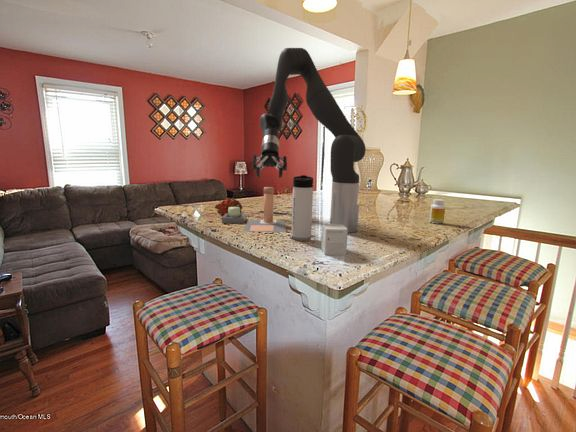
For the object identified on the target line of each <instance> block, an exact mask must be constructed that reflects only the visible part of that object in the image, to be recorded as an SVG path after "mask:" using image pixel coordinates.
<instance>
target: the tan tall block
mask: <svg viewBox="0 0 576 432" xmlns="http://www.w3.org/2000/svg"><path fill="white" fill-rule="evenodd" d="M274 194H275V187H272V186H264V187H263V220H264V222H265V223H272V222H273V220H274V198H275V197H274Z"/></svg>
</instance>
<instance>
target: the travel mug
mask: <svg viewBox="0 0 576 432" xmlns="http://www.w3.org/2000/svg"><path fill="white" fill-rule="evenodd" d="M292 179H293V181H292V183H293V184H292V185H293V186H292V207H291V208H292V209H291V239H292V240H293V241H297V242H308V241H310V240H311V238H312V225H313V223H312V220H313V197H314V196H313V194H314V178H313V177H312V176H308V175H305V174H304V175H300V176H294V177H293V178H292Z"/></svg>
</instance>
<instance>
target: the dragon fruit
mask: <svg viewBox="0 0 576 432" xmlns="http://www.w3.org/2000/svg"><path fill="white" fill-rule="evenodd" d="M229 207H240V214H242V209H243V205H242V204H241V202H240V201H239V200H237V199H235V198H234V197H231V198H229V197H227V198H224V200H222V201H221V202H220V203H218V204H216V205H215V206H214V209H215V210H217V213H218V214H219V215H224V214H225V213H228V208H229Z"/></svg>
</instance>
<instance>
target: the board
mask: <svg viewBox="0 0 576 432" xmlns="http://www.w3.org/2000/svg"><path fill="white" fill-rule="evenodd" d="M244 232H252V233H253V232H254V233H255V232H261V233H286V227H285V220H281V219H280V220H279V219H273V222H272V223H265V222H264V219H247V222H246V224H245V226H244V228H243V233H244Z"/></svg>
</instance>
